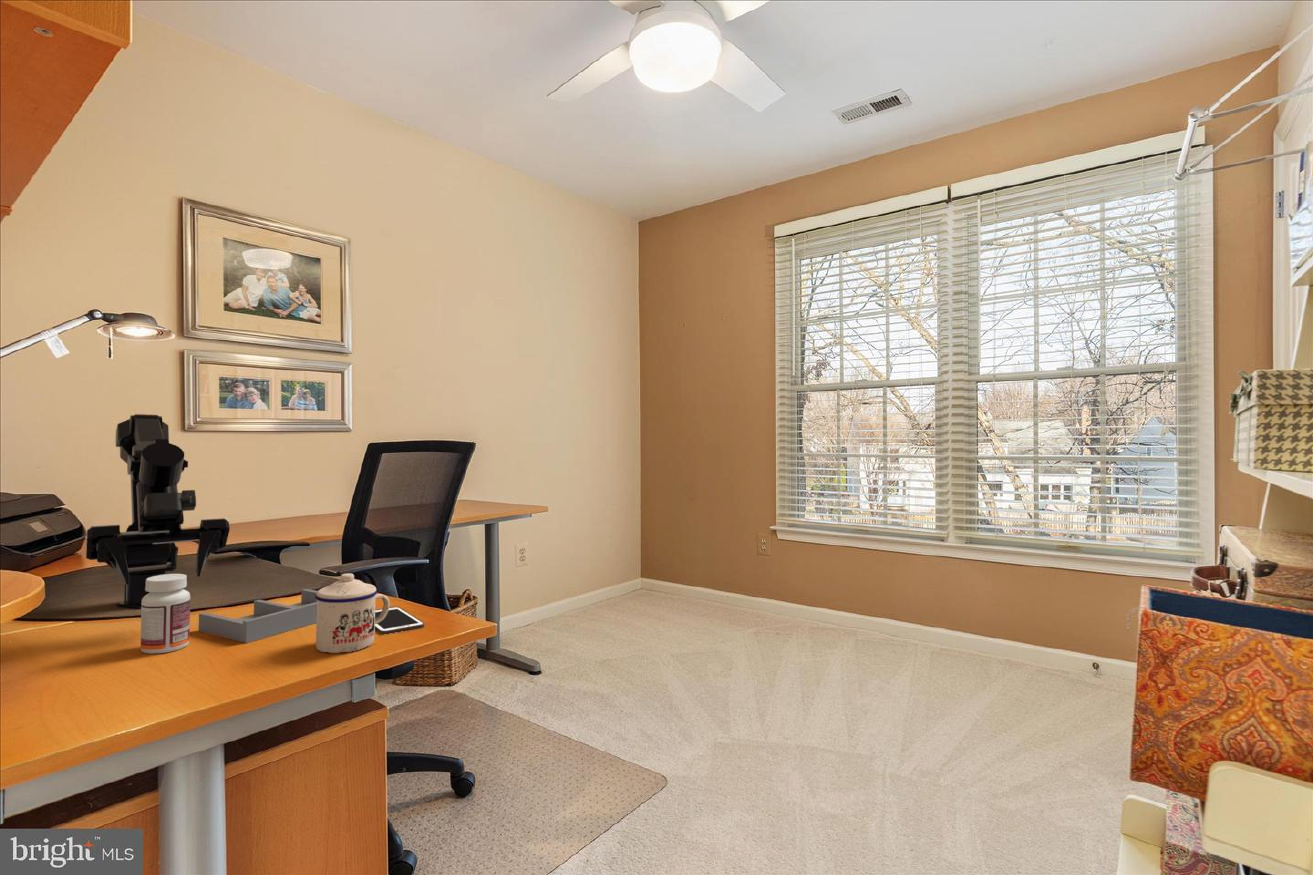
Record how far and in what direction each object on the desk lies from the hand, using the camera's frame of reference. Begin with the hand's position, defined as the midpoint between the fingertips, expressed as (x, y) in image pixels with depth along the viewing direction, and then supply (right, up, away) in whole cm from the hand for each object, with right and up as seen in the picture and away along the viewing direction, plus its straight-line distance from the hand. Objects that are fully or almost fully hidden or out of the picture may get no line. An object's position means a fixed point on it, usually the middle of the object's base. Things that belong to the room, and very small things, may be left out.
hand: (164, 578), depth 101 cm
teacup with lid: (+30, -11, +2) cm, 32 cm away
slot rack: (+11, -11, +13) cm, 20 cm away
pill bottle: (+2, -11, -2) cm, 11 cm away
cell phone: (+31, -12, +14) cm, 36 cm away
